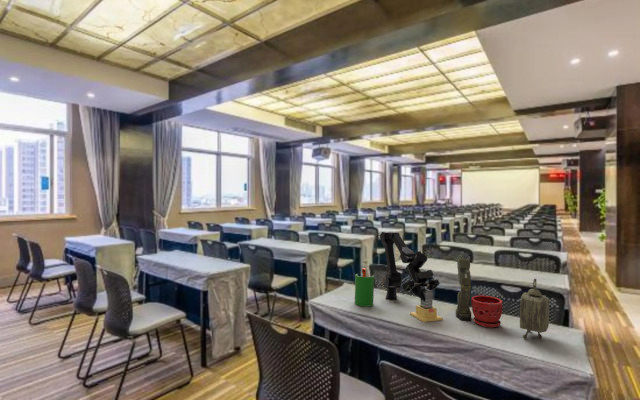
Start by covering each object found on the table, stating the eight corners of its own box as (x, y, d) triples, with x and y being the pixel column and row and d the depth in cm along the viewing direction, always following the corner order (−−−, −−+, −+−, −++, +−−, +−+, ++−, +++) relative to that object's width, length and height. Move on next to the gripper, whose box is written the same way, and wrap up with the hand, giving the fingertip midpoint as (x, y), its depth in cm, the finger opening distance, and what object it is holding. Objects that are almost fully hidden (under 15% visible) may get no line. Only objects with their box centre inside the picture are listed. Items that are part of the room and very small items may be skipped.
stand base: (410, 314, 171) (410, 304, 171) (428, 312, 175) (428, 302, 175) (423, 322, 161) (423, 311, 161) (442, 319, 164) (442, 309, 164)
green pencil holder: (372, 302, 190) (373, 266, 190) (373, 307, 182) (374, 269, 182) (354, 301, 191) (355, 265, 191) (354, 306, 183) (355, 268, 183)
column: (420, 313, 169) (420, 289, 169) (427, 312, 170) (427, 288, 170) (425, 316, 165) (425, 291, 165) (432, 315, 167) (432, 290, 167)
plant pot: (477, 317, 169) (477, 293, 169) (505, 324, 160) (506, 299, 160) (466, 323, 160) (466, 298, 160) (496, 331, 151) (496, 304, 151)
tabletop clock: (525, 329, 155) (526, 274, 155) (548, 334, 149) (550, 277, 149) (519, 339, 143) (520, 279, 143) (544, 345, 138) (546, 283, 138)
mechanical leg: (475, 322, 160) (473, 257, 167) (459, 320, 161) (457, 257, 168) (468, 319, 173) (467, 259, 180) (453, 318, 174) (452, 259, 181)
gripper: (406, 264, 169) (419, 293, 158) (438, 263, 174) (452, 290, 164) (397, 277, 176) (409, 305, 166) (428, 275, 182) (441, 302, 172)
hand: (428, 300), depth 167 cm, fingers closed on column, 4 cm apart
